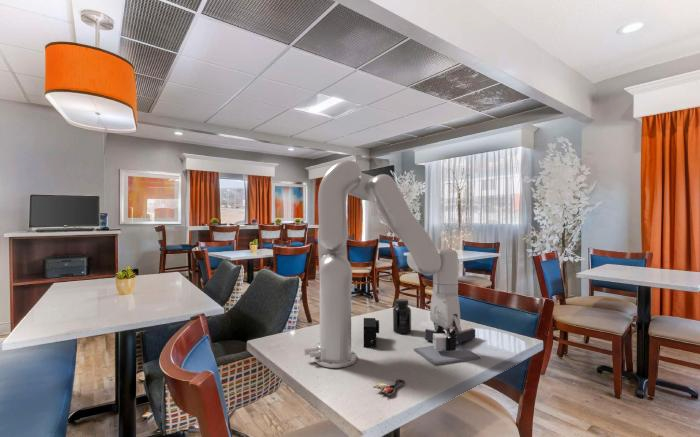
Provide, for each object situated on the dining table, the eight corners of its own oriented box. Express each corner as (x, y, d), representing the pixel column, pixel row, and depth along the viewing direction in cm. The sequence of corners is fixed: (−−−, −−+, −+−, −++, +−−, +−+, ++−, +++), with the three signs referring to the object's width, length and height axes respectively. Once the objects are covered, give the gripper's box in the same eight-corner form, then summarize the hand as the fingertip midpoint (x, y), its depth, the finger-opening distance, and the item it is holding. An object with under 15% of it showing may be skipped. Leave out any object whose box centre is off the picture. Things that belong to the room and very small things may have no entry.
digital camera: (380, 347, 108) (380, 326, 108) (363, 347, 108) (363, 326, 108) (378, 337, 118) (378, 317, 118) (363, 336, 118) (363, 317, 118)
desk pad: (434, 365, 94) (434, 363, 94) (413, 350, 105) (413, 348, 105) (480, 358, 99) (480, 356, 99) (456, 344, 110) (456, 342, 110)
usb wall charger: (432, 345, 104) (432, 332, 104) (454, 345, 104) (454, 332, 104) (436, 350, 100) (436, 337, 100) (458, 350, 100) (458, 337, 100)
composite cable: (400, 381, 85) (400, 372, 85) (414, 389, 81) (414, 379, 81) (371, 393, 79) (371, 383, 79) (385, 402, 75) (385, 391, 75)
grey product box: (475, 327, 116) (452, 333, 106) (475, 339, 115) (453, 347, 105) (448, 321, 124) (424, 327, 114) (448, 333, 123) (424, 339, 114)
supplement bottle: (414, 330, 125) (413, 299, 125) (407, 335, 119) (406, 302, 119) (397, 327, 129) (397, 297, 129) (390, 332, 123) (389, 300, 123)
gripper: (420, 284, 109) (420, 339, 109) (451, 294, 93) (451, 359, 93) (440, 283, 112) (440, 336, 111) (473, 293, 96) (473, 356, 95)
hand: (445, 346), depth 102 cm, fingers closed on usb wall charger, 4 cm apart
